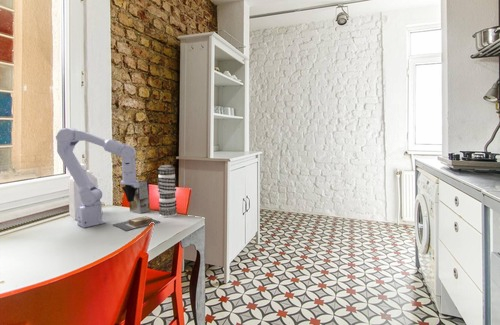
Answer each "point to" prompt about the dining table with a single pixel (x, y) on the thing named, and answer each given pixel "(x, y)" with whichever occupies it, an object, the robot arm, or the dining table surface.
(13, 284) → the dining table surface
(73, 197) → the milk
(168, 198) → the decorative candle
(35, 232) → the dining table surface
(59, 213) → the dining table surface
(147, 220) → the walnut slab
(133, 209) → the coffee box
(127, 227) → the charcoal mat
